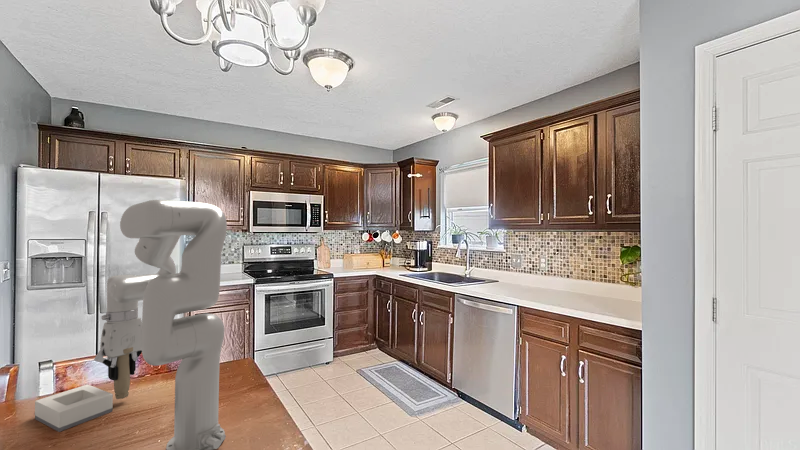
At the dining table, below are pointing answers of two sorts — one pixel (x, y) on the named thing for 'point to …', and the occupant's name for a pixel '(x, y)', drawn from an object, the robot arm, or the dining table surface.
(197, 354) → the robot arm
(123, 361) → the handle
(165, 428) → the dining table surface
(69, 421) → the socket stand
